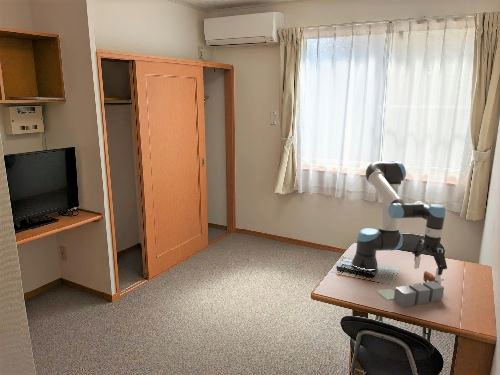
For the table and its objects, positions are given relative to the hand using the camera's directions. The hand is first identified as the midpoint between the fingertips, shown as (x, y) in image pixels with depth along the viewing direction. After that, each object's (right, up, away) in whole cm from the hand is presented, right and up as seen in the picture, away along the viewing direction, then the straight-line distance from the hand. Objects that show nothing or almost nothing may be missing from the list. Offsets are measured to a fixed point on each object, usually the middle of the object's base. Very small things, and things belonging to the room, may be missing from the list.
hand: (426, 274), depth 197 cm
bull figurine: (+11, -11, +17) cm, 23 cm away
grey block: (-12, -15, 0) cm, 19 cm away
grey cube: (+5, -14, +5) cm, 16 cm away
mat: (-17, -13, +7) cm, 22 cm away
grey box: (-3, -14, +2) cm, 15 cm away
